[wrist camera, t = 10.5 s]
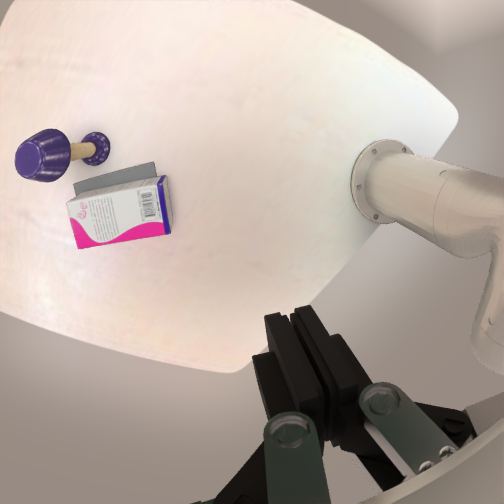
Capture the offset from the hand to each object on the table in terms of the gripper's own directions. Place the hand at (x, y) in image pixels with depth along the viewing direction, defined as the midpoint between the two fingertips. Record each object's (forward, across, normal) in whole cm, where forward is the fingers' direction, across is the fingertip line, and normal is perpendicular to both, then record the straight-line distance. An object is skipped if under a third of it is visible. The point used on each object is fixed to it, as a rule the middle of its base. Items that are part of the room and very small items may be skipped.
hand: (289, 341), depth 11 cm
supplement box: (+26, +6, 0) cm, 26 cm away
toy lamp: (+29, +15, -9) cm, 34 cm away
